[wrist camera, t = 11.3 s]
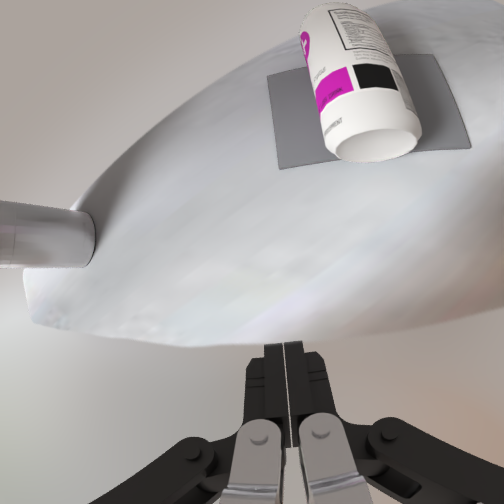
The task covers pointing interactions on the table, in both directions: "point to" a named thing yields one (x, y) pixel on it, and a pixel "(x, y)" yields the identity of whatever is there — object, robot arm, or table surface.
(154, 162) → the table surface
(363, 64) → the supplement can
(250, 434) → the robot arm
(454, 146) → the mat
